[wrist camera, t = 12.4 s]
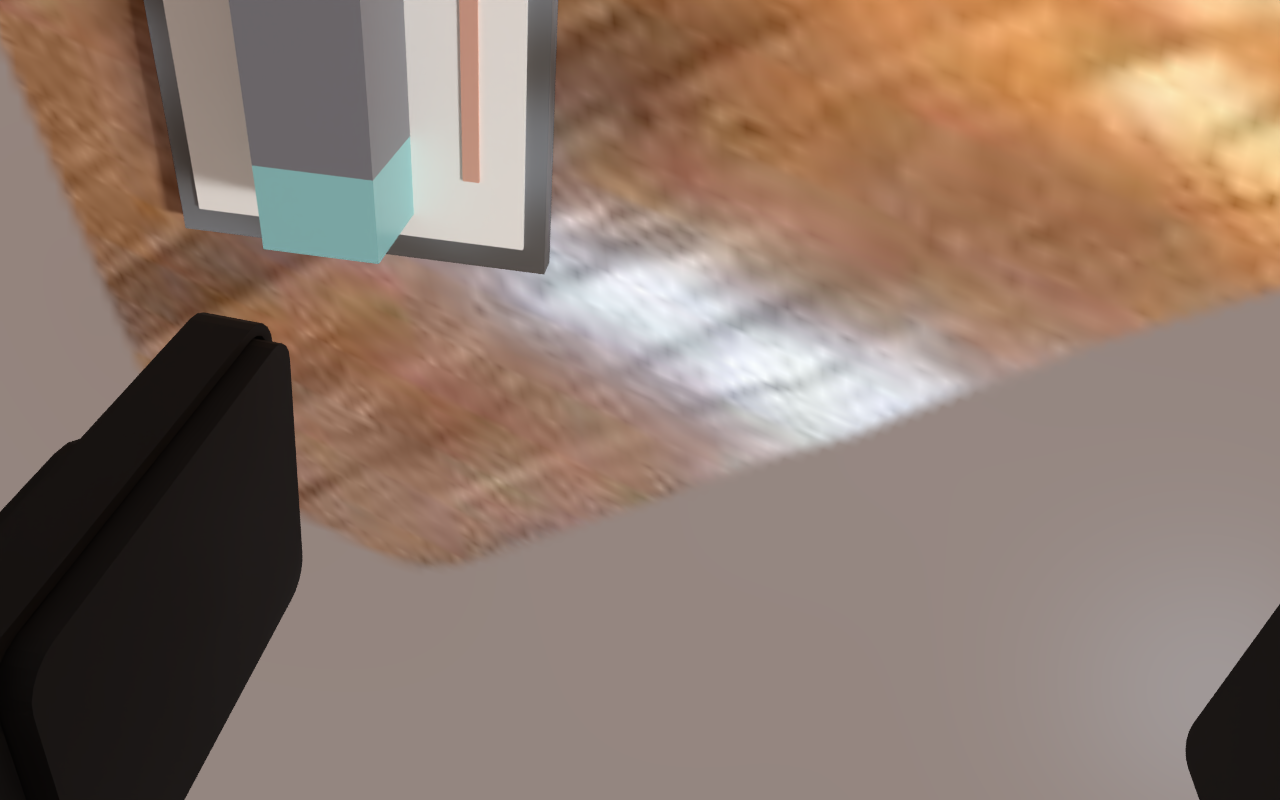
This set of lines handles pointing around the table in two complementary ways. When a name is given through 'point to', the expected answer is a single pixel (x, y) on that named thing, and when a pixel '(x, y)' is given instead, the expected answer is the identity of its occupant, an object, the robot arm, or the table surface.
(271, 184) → the teal-tipped grey bar
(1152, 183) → the table surface
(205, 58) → the drawing board
